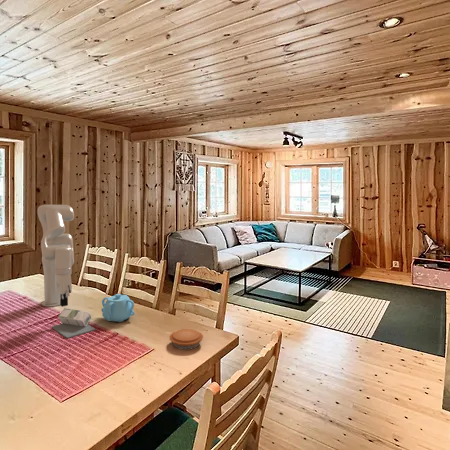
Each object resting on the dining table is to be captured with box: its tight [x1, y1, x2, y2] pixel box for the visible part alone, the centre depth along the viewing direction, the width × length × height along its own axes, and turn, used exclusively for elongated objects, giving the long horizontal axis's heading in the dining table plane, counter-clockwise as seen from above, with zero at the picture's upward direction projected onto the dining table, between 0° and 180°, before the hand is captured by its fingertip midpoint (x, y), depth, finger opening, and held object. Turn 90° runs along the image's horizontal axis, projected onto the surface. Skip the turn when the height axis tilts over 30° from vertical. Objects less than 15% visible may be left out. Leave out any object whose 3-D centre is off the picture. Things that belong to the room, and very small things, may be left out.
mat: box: [51, 323, 96, 339], centre depth 167 cm, size 18×14×1 cm
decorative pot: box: [100, 293, 136, 323], centre depth 182 cm, size 16×16×14 cm
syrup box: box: [57, 307, 92, 327], centre depth 171 cm, size 6×6×14 cm
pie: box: [169, 328, 204, 350], centre depth 155 cm, size 15×16×5 cm
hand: (64, 305), depth 173 cm, fingers closed
